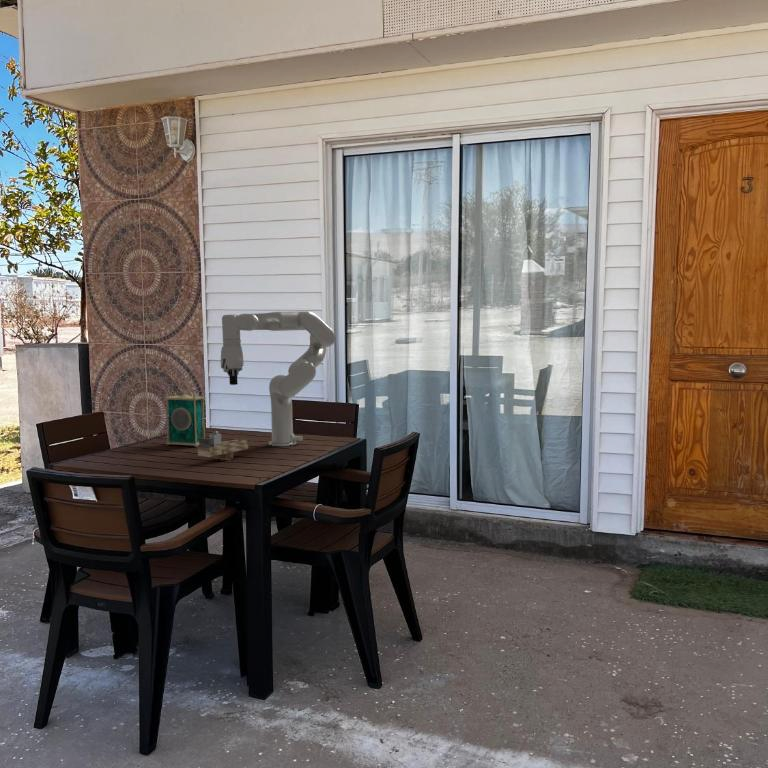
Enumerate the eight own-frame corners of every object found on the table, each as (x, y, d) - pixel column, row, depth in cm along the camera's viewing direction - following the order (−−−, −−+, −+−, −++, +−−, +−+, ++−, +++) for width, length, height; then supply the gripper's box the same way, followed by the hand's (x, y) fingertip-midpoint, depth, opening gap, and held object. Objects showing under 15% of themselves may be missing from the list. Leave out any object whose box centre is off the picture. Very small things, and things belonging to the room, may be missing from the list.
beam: (237, 454, 323) (236, 430, 322) (249, 455, 319) (248, 432, 318) (197, 462, 305) (196, 438, 304) (209, 464, 301) (208, 439, 300)
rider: (217, 447, 310) (216, 430, 310) (221, 447, 309) (221, 431, 308) (210, 448, 307) (209, 432, 306) (214, 449, 306) (213, 432, 305)
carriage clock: (165, 446, 345) (162, 380, 342) (176, 442, 353) (174, 378, 350) (196, 447, 339) (194, 381, 336) (207, 444, 347) (205, 379, 344)
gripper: (237, 341, 339) (239, 382, 341) (213, 343, 327) (215, 386, 329) (249, 342, 335) (251, 383, 337) (225, 343, 323) (227, 386, 325)
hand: (233, 384), depth 333 cm, fingers closed
